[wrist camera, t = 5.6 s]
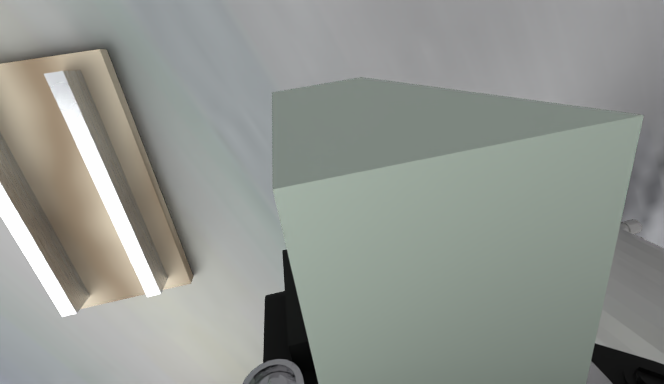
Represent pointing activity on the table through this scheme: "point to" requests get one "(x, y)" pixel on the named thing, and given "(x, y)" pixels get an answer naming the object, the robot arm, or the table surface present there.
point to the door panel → (448, 230)
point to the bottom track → (82, 184)
